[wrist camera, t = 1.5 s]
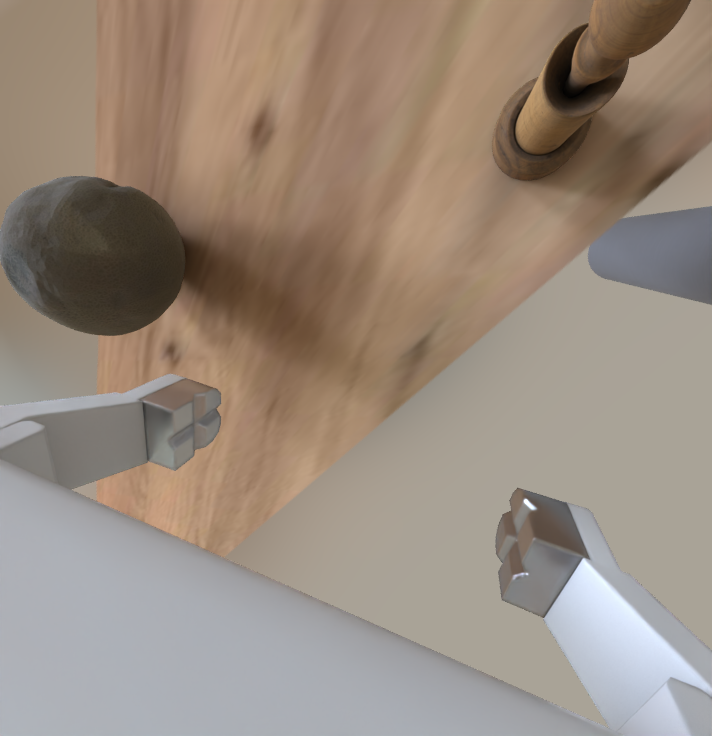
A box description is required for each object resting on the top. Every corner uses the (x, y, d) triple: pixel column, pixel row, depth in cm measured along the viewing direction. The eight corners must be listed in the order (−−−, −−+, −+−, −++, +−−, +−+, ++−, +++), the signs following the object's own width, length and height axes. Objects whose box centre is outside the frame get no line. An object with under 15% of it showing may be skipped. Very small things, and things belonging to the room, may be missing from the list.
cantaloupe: (98, 236, 41) (-73, 234, 28) (166, 160, 36) (-8, 111, 22) (169, 333, 44) (42, 375, 30) (242, 276, 38) (127, 295, 25)
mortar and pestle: (548, 63, 25) (720, -254, 9) (600, 129, 26) (851, -57, 10) (475, 139, 28) (508, 1, 12) (524, 198, 29) (619, 142, 12)
